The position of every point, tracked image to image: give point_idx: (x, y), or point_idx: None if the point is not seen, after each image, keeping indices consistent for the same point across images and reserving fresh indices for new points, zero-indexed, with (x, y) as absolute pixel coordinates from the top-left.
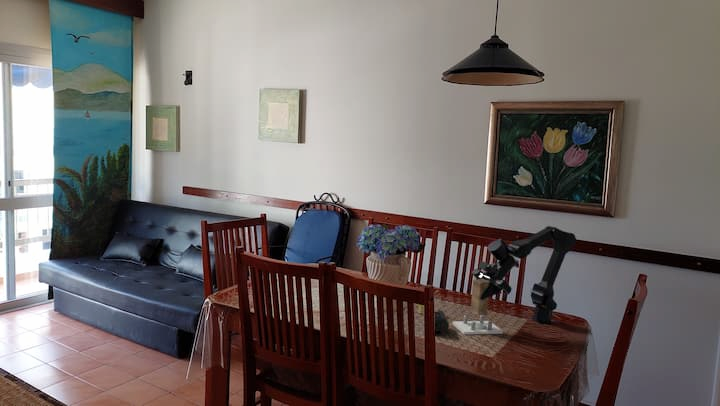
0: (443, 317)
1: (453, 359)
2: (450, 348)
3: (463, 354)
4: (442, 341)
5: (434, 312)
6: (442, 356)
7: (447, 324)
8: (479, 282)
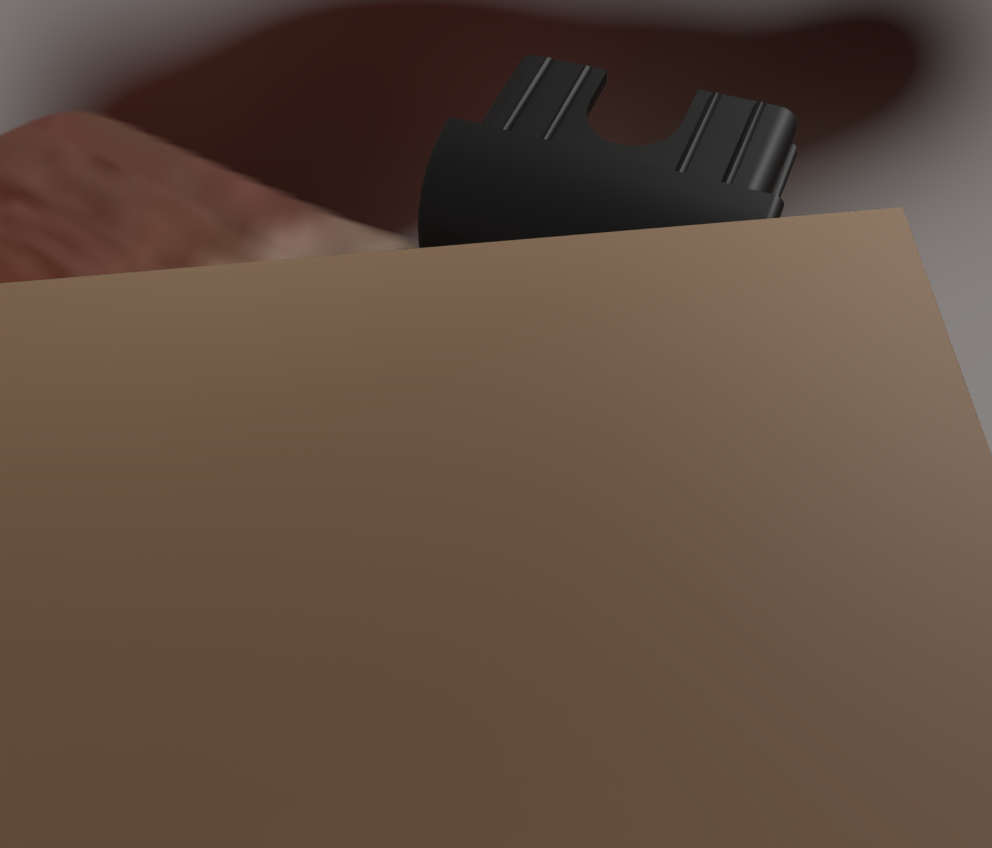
0: (485, 156)
1: (36, 167)
2: (196, 226)
3: (55, 266)
4: (345, 227)
5: (728, 156)
6: (115, 124)
7: (423, 225)
8: (73, 293)
